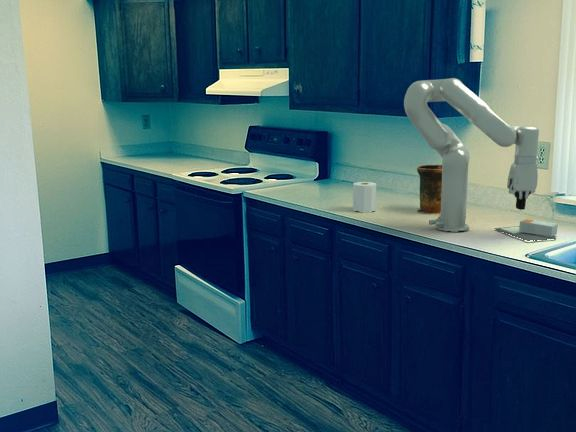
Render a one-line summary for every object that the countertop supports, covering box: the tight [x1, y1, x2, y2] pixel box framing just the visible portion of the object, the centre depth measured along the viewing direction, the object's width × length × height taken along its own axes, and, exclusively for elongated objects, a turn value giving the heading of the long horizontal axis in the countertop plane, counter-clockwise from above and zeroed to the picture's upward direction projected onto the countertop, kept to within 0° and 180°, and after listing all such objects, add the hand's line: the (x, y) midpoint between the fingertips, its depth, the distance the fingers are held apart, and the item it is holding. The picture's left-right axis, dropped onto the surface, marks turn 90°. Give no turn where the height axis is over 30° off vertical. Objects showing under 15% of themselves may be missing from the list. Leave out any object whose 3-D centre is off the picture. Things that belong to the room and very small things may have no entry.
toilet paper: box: [352, 181, 377, 213], centre depth 277 cm, size 10×10×12 cm
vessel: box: [416, 164, 442, 215], centre depth 273 cm, size 14×14×20 cm
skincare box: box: [518, 218, 559, 237], centre depth 233 cm, size 6×4×12 cm
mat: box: [494, 225, 557, 241], centre depth 234 cm, size 12×20×1 cm, turn 16°
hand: (520, 208), depth 235 cm, fingers closed
